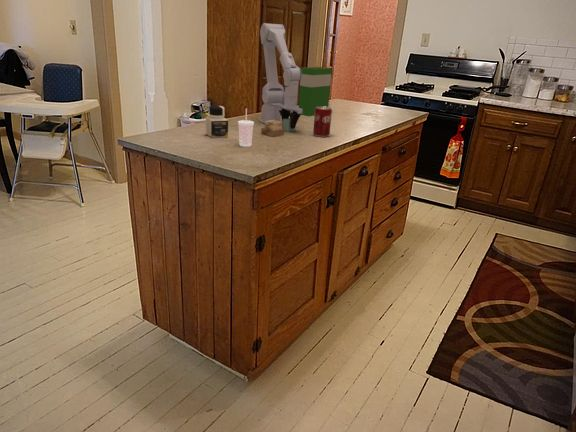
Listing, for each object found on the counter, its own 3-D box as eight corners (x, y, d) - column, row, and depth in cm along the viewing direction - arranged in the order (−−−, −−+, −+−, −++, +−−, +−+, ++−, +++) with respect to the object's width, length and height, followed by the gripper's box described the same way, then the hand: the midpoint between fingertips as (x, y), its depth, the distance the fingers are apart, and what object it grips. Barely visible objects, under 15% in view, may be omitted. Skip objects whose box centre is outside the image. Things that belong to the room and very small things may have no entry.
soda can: (331, 134, 195) (333, 107, 190) (327, 138, 189) (329, 110, 184) (315, 132, 197) (317, 105, 192) (310, 135, 191) (313, 108, 186)
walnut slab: (261, 134, 188) (261, 128, 187) (272, 132, 193) (272, 126, 192) (273, 138, 184) (273, 131, 183) (284, 135, 189) (284, 128, 188)
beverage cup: (240, 147, 165) (241, 109, 160) (235, 143, 170) (236, 106, 165) (255, 146, 168) (256, 109, 162) (250, 142, 173) (251, 106, 167)
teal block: (282, 129, 199) (283, 118, 197) (289, 129, 201) (290, 118, 199) (288, 131, 196) (288, 120, 194) (295, 130, 198) (295, 119, 196)
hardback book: (317, 111, 250) (320, 67, 241) (327, 113, 246) (331, 68, 237) (298, 114, 238) (301, 67, 228) (308, 116, 233) (312, 69, 224)
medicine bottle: (211, 138, 176) (211, 107, 171) (206, 134, 182) (205, 104, 177) (228, 137, 179) (228, 107, 174) (222, 133, 185) (222, 104, 180)
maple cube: (265, 128, 187) (265, 121, 186) (272, 126, 191) (272, 119, 190) (273, 130, 184) (274, 123, 183) (281, 128, 188) (281, 121, 187)
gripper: (273, 94, 195) (272, 124, 201) (294, 99, 185) (292, 131, 190) (286, 93, 199) (284, 123, 205) (307, 98, 189) (304, 129, 195)
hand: (289, 127), depth 198 cm, fingers open, 5 cm apart
